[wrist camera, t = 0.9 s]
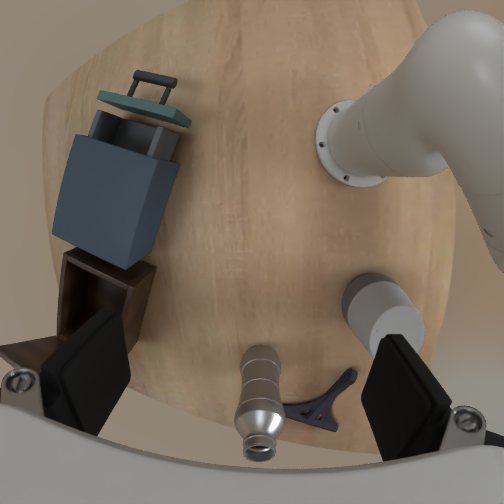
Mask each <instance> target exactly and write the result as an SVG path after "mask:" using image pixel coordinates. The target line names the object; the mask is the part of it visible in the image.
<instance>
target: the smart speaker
mask: <svg viewBox="0 0 504 504" xmlns="http://www.w3.org/2000/svg"><path fill="white" fill-rule="evenodd" d="M342 312H343V316H344V318H345V321H346V322H347V324H348V326H349V327H350V329H351V330H352V331H353V333H354V334H355V335H356V336H357V338H358V339H359V340H360V341H361V343H362V344H363V345H364V347H365V348H366V349H367V350H368V352H369V353H370V354H371V355H372V357H373V358H375V355H376V352H377V349H378V345H379V342H380V340H381V338H384V337H385V336H386V335H387V334H402V335H403V336H404V337H405V339H406V340H407V341H408V342H409V344H410V345H411V346H412V348H413V349H414V350H415V351H416V353H417V354H418V353H419V351H420V349H421V348H422V345H423V343H424V339H425V324H424V320H423V318H422V316H421V315H420V313H419V312H418V310H417V309H416V307H415V306H414V305H413V303H412V302H411V300H410V299H409V298H408V296H407V295H406V294H405V292H404V291H403V290H402V288H401V287H400V286H399V285H398V284H397V283H396V282H395V281H394V280H393V279H391V278H390V277H388V276H386V275H384V274H381V273H366V274H363V275H360V276H358V277H357V278H355V279H354V280H353V281H352V282H351V283H350V284H349V285H348V287H347V288H346V290H345V292H344V295H343V298H342Z"/></svg>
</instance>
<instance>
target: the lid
mask: <svg viewBox="0 0 504 504" xmlns="http://www.w3.org/2000/svg"><path fill="white" fill-rule="evenodd" d="M64 342H65V341H64V340H62V339H60V338H59V337H57V336H51V337H46V338H41V339H35V340H30V341H25V342H19V343H13V344H8V345H2V346H0V357H1V358H3V359H4V360H5V361H6V362H7V363H9V364H10V365H11V366H12V367H14V368H15V369H17V368H30V369H33V370H35V371H36V372H37V373H38V374H39V373H40V372H41V368H40V365H41V364H42V363H43V362H44V361H45V360H46V359H47V358H48V357H49V356H50V355H51V354H53V353H54V352H55V351H56V350H57V349H58V348H59V347H60V346H61V345H62V344H63V343H64Z"/></svg>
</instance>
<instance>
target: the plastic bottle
mask: <svg viewBox="0 0 504 504" xmlns="http://www.w3.org/2000/svg"><path fill="white" fill-rule="evenodd" d="M240 372H241V377H242V390H241V396H240V401H239V404H238V407H237V410H236V413H235V417H234V423H235V427H236V430H237V431H238V433H239V434H240V435H241V437H242V438H243V439H244V440H243V455H244V457H246V459H248V460H250V461H254V462H265V461H268V460H271V459H272V458H273V457H274V456H275V453H276V449H275V447H276V438H277V437H278V436H279V435H280V433H281V432H282V431H283V429H284V426H285V423H286V416H285V412H284V408H283V405H282V402H281V398H280V392H279V377H280V373H281V361H280V358H279V356H278V354H277V353H276V352H275V350H273V349H272V348H269V347H266V346H256V347H253V348H251V349H249V350H247V351H246V352H245V354H244V355H243V357H242V360H241V362H240Z"/></svg>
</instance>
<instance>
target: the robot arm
mask: <svg viewBox="0 0 504 504" xmlns="http://www.w3.org/2000/svg"><path fill="white" fill-rule="evenodd" d="M333 110H336V113H335V112H334V111H333ZM320 144H322V145H323V147H320ZM315 146H316V151H317V154H318V157H319V159H320V161H321V163H322V165H323V166H324V168H325V169H326V170H327V171H328V173H329V174H330V175H331V176H333V177H334V178H335V179H336V180H338V181H340V182H342V183H344V184H346V185H349V186H352V187H371V186H375V185H377V184H380V183H381V182H383V181H384V180H386V179H387V178H388V177H428V176H433V175H436V174H438V173H440V172H442V171H444V170H445V169H446V168H448V167H450V169H451V171H452V173H453V175H454V177H455V178H456V180H457V182H458V184H459V186H460V187H461V188H462V190H463V192H464V194H465V196H466V198H467V201H468V203H469V205H470V207H471V209H472V212H473V214H474V216H475V218H476V221H477V223H478V225H479V228H480V230H481V233H482V235H483V237H484V240H485V243H486V245H487V248H488V250H489V252H490V255H491V256H492V258H493V260H494V262H495V264H496V265H497V266H498V268H499V269H500V270H501V271H502V272H503V273H504V24H503V23H501V22H500V21H498V20H497V19H495V18H493V17H492V16H490V15H487V14H485V13H482V12H478V11H471V10H464V11H458V12H454V13H451V14H449V15H446V16H445V17H443V18H441V19H440V20H438V21H437V22H435V23H434V24H433V25H431V26H430V27H429V28H428V29H427V30H426V31H425V32H424V33H423V34H422V36H421V37H420V38H419V39H418V40H417V41H416V43H415V44H414V46H413V47H412V49H411V50H410V52H409V53H408V54H407V56H406V57H405V59H404V60H403V62H402V63H401V64H400V65H399V66H398V68H397V69H396V70H395V71H394V72H392V73H391V74H390V75H389V76H388V77H387V78H385V79H384V80H383V81H382V82H380V83H379V84H378V85H376V86H373V85H370V87H369V90H368V92H367V93H366V94H365V95H363V96H362V97H361V98H360V99H358V100H346V101H341V102H339V103H337V104H335V105H333V106H332V107H330V108H329V109H328V110H327V111H326V112H325V113H324V114H323V116H322V117H321V119H320V120H319V123H318V125H317V127H316V133H315ZM344 176H346V180H344ZM380 176H381V177H380ZM40 368H41V372H40V373H39V374H38V373H37V372H36V371H35V370H33V369H30V368H17V369H14V370H12V371H10V372H8V373H7V374H6V375H5V376H4V378H3V380H2V384H1V388H0V504H504V436H501V435H499V434H496V433H493V432H490V431H487V430H486V420H485V418H484V416H483V415H482V414H481V412H479V411H478V410H477V409H475V408H473V407H470V406H458V407H456V408H454V409H453V410H452V409H451V408H450V405H451V403H452V401H451V399H450V397H449V396H448V395H447V394H446V392H445V390H444V389H443V388H442V386H441V385H440V384H439V382H438V381H437V379H436V378H435V377H434V375H433V374H432V373H431V371H430V370H429V369H428V367H427V366H426V365H425V363H424V362H423V361H422V359H421V358H420V357H419V355H418V354H417V353H416V351H415V350H414V349H413V348H412V346H411V345H410V344H409V342H408V341H407V340H406V339H405V337H404V336H403V335H402V334H387V335H386V336H385V337H384V338H381V340H380V342H379V345H378V349H377V352H376V355H375V358H374V361H373V364H372V367H371V370H370V373H369V375H368V378H367V381H366V384H365V386H364V389H363V392H362V395H361V401H362V405H363V407H364V410H365V412H366V415H367V418H368V421H369V423H370V426H371V429H372V431H373V434H374V437H375V440H376V443H377V445H378V448H379V451H380V454H381V457H382V460H383V462H378V463H371V464H363V465H355V466H345V467H334V468H317V469H266V468H265V469H264V468H247V467H236V466H225V465H217V464H210V463H202V462H196V461H190V460H184V459H179V458H174V457H169V456H164V455H160V454H155V453H151V452H147V451H143V450H139V449H136V448H132V447H128V446H125V445H121V444H118V443H114V442H112V441H109V440H106V439H103V438H99V437H97V436H98V434H99V432H100V430H101V429H102V427H103V425H104V424H105V422H106V420H107V419H108V417H109V415H110V413H111V412H112V410H113V408H114V407H115V405H116V403H117V402H118V400H119V398H120V397H121V395H122V393H123V391H124V390H125V388H126V387H127V385H128V383H129V381H130V378H131V372H130V367H129V361H128V355H127V349H126V342H125V335H124V327H123V320H122V316H121V315H119V314H118V312H117V311H116V310H110V309H105V308H102V309H100V310H99V311H98V312H97V313H96V314H95V315H94V316H92V317H91V318H90V319H89V320H88V321H87V322H86V323H85V324H84V325H83V326H81V327H80V328H79V329H78V330H77V331H76V332H75V333H74V334H73V335H72V336H71V337H69V338H68V339H67V340H66V341H65V342H64V343H63V344H62V345H61V346H60V347H59V348H58V349H57V350H56V351H55V352H54V353H53V354H51V355H50V356H49V357H48V358H47V359H46V360H45V361H44V362H43V363H42V364H41V365H40Z"/></svg>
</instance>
